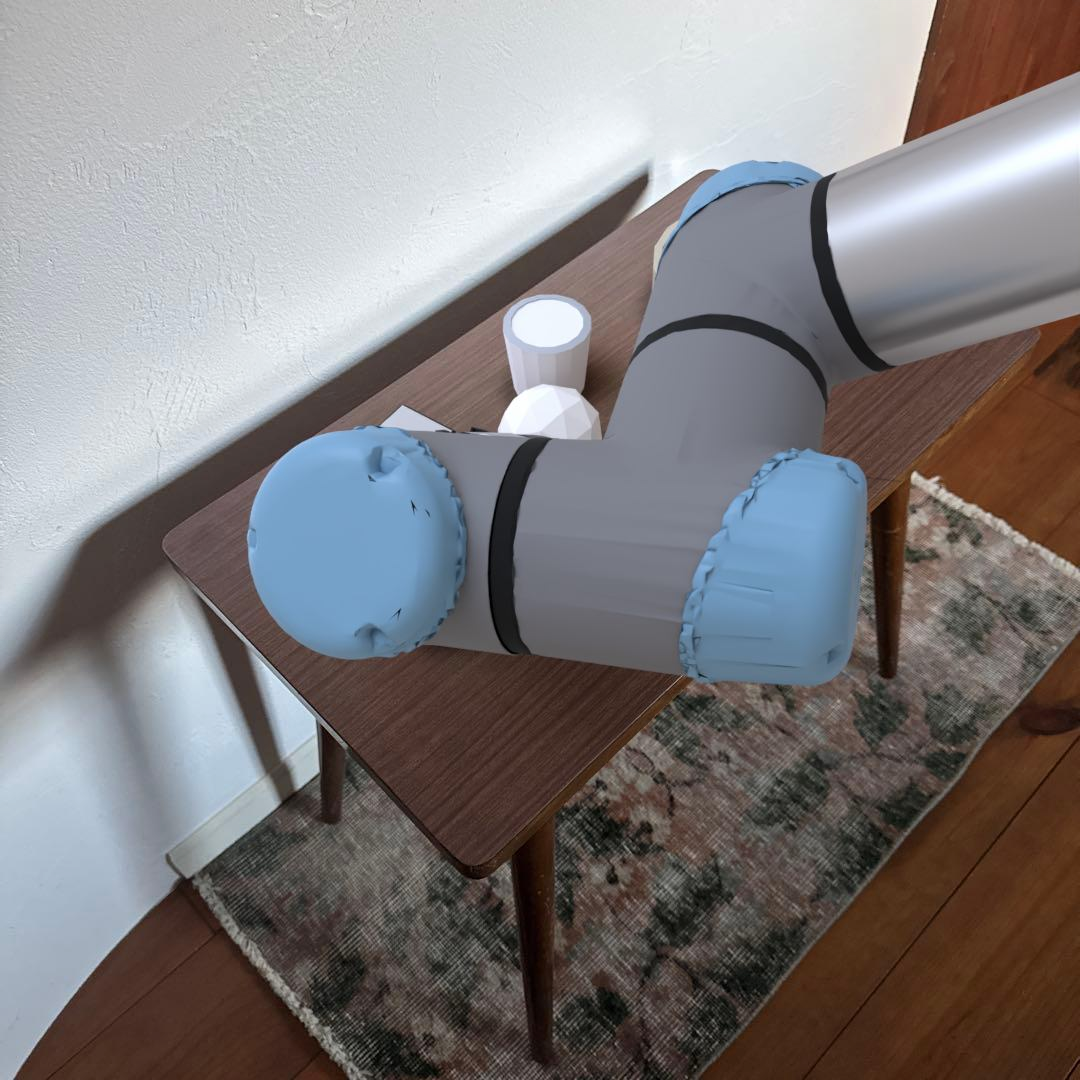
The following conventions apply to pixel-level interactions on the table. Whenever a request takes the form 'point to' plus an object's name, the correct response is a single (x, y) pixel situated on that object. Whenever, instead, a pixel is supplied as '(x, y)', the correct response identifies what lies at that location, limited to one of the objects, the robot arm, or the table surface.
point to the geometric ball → (552, 414)
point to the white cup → (547, 342)
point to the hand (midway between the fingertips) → (627, 499)
